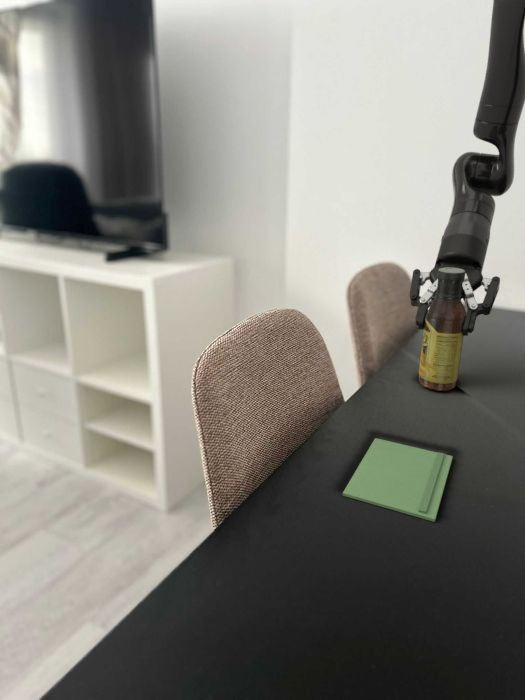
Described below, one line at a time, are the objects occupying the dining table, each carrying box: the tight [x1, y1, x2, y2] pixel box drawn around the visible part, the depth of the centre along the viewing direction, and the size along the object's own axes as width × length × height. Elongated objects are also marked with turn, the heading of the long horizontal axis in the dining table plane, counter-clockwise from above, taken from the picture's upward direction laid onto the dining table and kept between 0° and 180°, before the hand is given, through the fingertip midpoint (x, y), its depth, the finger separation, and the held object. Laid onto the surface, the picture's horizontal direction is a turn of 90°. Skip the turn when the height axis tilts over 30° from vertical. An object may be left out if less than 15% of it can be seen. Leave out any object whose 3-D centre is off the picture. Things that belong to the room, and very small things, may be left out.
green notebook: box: [342, 437, 454, 523], centre depth 61 cm, size 14×10×1 cm
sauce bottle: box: [418, 267, 467, 392], centre depth 83 cm, size 7×6×20 cm
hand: (442, 329), depth 82 cm, fingers closed on sauce bottle, 6 cm apart
